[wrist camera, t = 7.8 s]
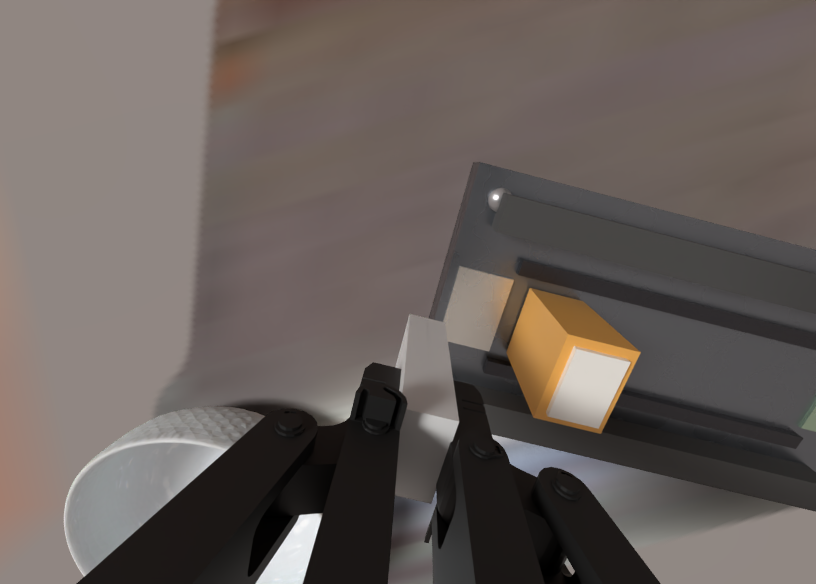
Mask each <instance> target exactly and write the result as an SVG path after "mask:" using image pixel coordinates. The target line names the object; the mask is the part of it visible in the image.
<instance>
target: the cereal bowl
mask: <svg viewBox="0 0 816 584" xmlns="http://www.w3.org/2000/svg"><path fill="white" fill-rule="evenodd" d="M264 417H265V416H264V415H261V414H259V413H257V412H253V411H247V410H245V409H240V408H234V407H221V406H215V407H209V406H206V407H196V408H191V409H183V410H179V411H175V412H170V413H168V414H164V415H161V416H159V417H157V418H154V419H151V420H150V421H148V422H146V423H145V424H142V425H140V426H138V427H137V428H135V429H134V430H132V431H130V432H128V433H126V434H125V435H124V436H123V437H121V438H120V439H118V440H116V441H115V442H113V443H112V444H111V445H110V446H109V447H107V448H106V449H104V450H103V451H102V452H101V453H100V454H98V455H97V456H96V457H94V458H93V459H92V460H91V461H90V462H89V463H88V464H87V465H86V466H85V467H84V468H83V469H82V471H81V472H80V473H79V474H78V476H77V477H76V479H75V480H74V482H73V484H72V486H71V488H70V490H69V493H68V496H67V499H66V504H65V510H64V528H65V535H66V540H67V544H68V547H69V550H70V552H71V555H72V557H73V559H74V561H75V563H76V564H77V567H78V568H79V569H80V571H81V573H82V574H83V576H84V577H85V576H86V575H87V574H88V573H89V572H90V571H91V570H92V569H94V568H95V567H96V566H97V565H98V564H99V563H100V562H101V561H103V560H104V559H105V558H106V557H107V556H108V555H109V554H110V553H112V552H113V551H114V550H115V549H116V548H117V547H118V546H119V545H121V544H122V543H123V542H124V541H125V540H126V539H127V538H128V537H130V536H131V535H132V534H133V533H134V532H135V531H136V530H137V529H139V528H140V527H141V526H142V525H143V524H144V523H145V522H146V521H148V520H149V519H150V518H151V517H152V516H153V515H154V514H156V513H157V512H158V511H159V510H160V509H161V508H162V507H163V506H165V505H166V504H167V503H168V502H169V501H170V500H171V499H172V498H174V497H175V496H176V495H177V494H178V493H179V492H180V491H181V490H183V489H184V488H185V487H186V486H187V485H188V484H189V483H190V482H192V481H193V480H194V479H195V478H196V477H197V476H198V475H199V474H201V473H202V472H203V471H204V470H205V469H206V468H207V467H208V466H210V465H211V464H212V463H213V462H214V461H215V460H216V459H217V458H219V457H220V456H221V455H222V454H223V453H224V452H225V451H226V450H228V449H229V448H230V447H231V446H232V445H233V444H234V443H235V442H237V441H238V440H239V439H240V438H241V437H242V436H243V435H244V434H246V433H247V432H248V431H249V430H250V429H251V428H252V427H253V426H255V425H256V424H257V423H258V422H259V421H260V420H261V419H262V418H264ZM322 514H323V513H319V514H307V515H300V516H299V518H298V520H297V522H296V524H295V525H294V527H293V528H292V530H291V531H290V533H289V534H288V536H287V537H286V539H285V540H284V542H283V543H282V545H281V546H280V548H279V549H278V551H277V552H276V554H275V555H274V557H273V558H272V560H271V561H270V563H269V564H268V566H267V567H266V569H265V570H264V572H263V573H262V574H261V576H260V577H259V579H258V580H257V582H256V583H255V584H303V581H304V577H305V574H306V570H307V567H308V563H309V560H310V556H311V553H312V549H313V546H314V542H315V539H316V535H317V532H318V528H319V525H320V521H321V518H322Z"/></svg>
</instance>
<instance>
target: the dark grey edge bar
mask: <svg viewBox="0 0 816 584" xmlns="http://www.w3.org/2000/svg"><path fill="white" fill-rule="evenodd" d="M454 381H457V380H454ZM458 382H461V381H458ZM463 383H465V382H463ZM467 384H469V383H467ZM471 385H474V384H471ZM474 386H475V388H476V389H477V390H478V391H479V393H480V394H481V395H482V399H483V403H484V407H485V411H486V415H487V419H488V423H489V426H490V430H491V434H493V435H497V436H502V437H506V438H510V439H514V440H518V441H522V442H527V443H531V444H535V445H539V446H543V447H548V448H552V449H556V450H560V451H564V452H569V453H573V454H577V455H581V456H585V457H590V458H594V459H598V460H602V461H606V462H611V463H615V464H619V465H623V466H627V467H632V468H636V469H640V470H644V471H648V472H653V473H657V474H661V475H665V476H669V477H673V478H678V479H682V480H686V481H690V482H694V483H699V484H703V485H707V486H711V487H715V488H720V489H724V490H728V491H732V492H736V493H741V494H745V495H749V496H753V497H757V498H762V499H766V500H770V501H774V502H778V503H783V504H787V505H791V506H795V507H799V508H803V509H808V510H812V511H816V472H815V471H813V470H812V469H811V468H810V467H808V466H807V465H804V464H800V463H795V462H791V461H787V460H783V459H779V458H775V457H771V456H767V455H762V454H758V453H754V452H750V451H746V450H742V449H738V448H734V447H729V446H725V445H721V444H717V443H713V442H709V441H705V440H701V439H696V438H692V437H688V436H684V435H680V434H676V433H672V432H668V431H663V430H659V429H655V428H651V427H647V426H643V425H639V424H635V423H630V422H626V421H622V420H618V419H614V418H610V417H609V418H608V420H607V422H606V424H605V426H604V428H603V430H602V433H601V434H599V433H595V432H591V431H587V430H582V429H578V428H574V427H570V426H566V425H562V424H558V423H553V422H549V421H545V420H541V419H537V418H533V416H532V413H531V411H530V408H529V406H528V404H527V401H526V399H525V397H523V396H519V395H515V394H511V393H507V392H502V391H498V390H494V389H490V388H486V387H482V386H478V385H474Z"/></svg>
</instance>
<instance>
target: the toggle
mask: <svg viewBox="0 0 816 584" xmlns="http://www.w3.org/2000/svg"><path fill="white" fill-rule="evenodd" d="M506 353H507V356H508V358H509V360H510V363H511V365H512V368H513V370H514V372H515V375H516V377H517V380H518V382H519V384H520V387H521V389H522V392H523V394H524V396H525V399H526V401H527V404H528V406H529V408H530V411H531V413H532V416H533V418H537V419H541V420H545V421H549V422H553V423H558V424H562V425H566V426H570V427H574V428H578V429H582V430H587V431H591V432H595V433H599V434H601V433H602V430H603V428H604V426H605V424H606V422H607V420H608V418H609V416H610V414H611V412H612V410H613V408H614V406H615V404H616V402H617V400H618V398H619V396H620V394H621V392H622V390H623V388H624V386H625V384H626V382H627V380H628V378H629V376H630V373H631V371H632V369H633V367H634V365H635V363H636V361H637V359H638V357H639V355H640V353H641V352H640V351H639V350H638V349H636V348H635V347H634V346H633V345H632V344H631V343H630V342H629V341H627V340H626V339H625V338H624V337H623V336H622V335H621V334H620V333H618V332H617V331H616V330H615V329H614V328H613V327H612V326H611V325H609V324H608V323H607V322H606V321H605V320H604V319H603V318H602V317H600V316H599V315H598V314H597V313H596V312H595V311H594V310H593V309H591V308H590V307H589V306H588V305H587V304H586V303H585V302H583V301H580V300H576V299H572V298H568V297H564V296H560V295H556V294H552V293H549V292H545V291H541V290H537V289H533V288H530V289H529V292H528V294H527V297H526V300H525V302H524V305H523V308H522V311H521V313H520V316H519V319H518V322H517V324H516V327H515V330H514V333H513V335H512V338H511V341H510V343H509V346H508V349H507V352H506Z"/></svg>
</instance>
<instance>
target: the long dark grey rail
mask: <svg viewBox="0 0 816 584" xmlns="http://www.w3.org/2000/svg"><path fill="white" fill-rule="evenodd" d="M491 227H492V228H493V229H494V230H495V231H496V232H497V233H501V234H505V235H508V236H512V237H516V238H520V239H524V240H528V241H532V242H536V243H540V244H544V245H548V246H551V247H555V248H559V249H563V250H567V251H571V252H575V253H579V254H583V255H587V256H591V257H594V258H598V259H602V260H606V261H610V262H614V263H618V264H622V265H626V266H630V267H634V268H637V269H641V270H645V271H649V272H653V273H657V274H661V275H665V276H669V277H673V278H677V279H680V280H684V281H688V282H692V283H696V284H700V285H704V286H708V287H712V288H716V289H720V290H723V291H727V292H731V293H735V294H739V295H743V296H747V297H751V298H755V299H759V300H763V301H766V302H770V303H774V304H778V305H782V306H786V307H790V308H794V309H798V310H802V311H806V312H809V313H813V314H816V273H812V272H808V271H804V270H801V269H797V268H793V267H789V266H785V265H781V264H777V263H774V262H770V261H766V260H762V259H758V258H754V257H751V256H747V255H743V254H739V253H735V252H731V251H727V250H724V249H720V248H716V247H712V246H708V245H704V244H700V243H697V242H693V241H689V240H685V239H681V238H677V237H673V236H670V235H666V234H662V233H658V232H654V231H650V230H646V229H643V228H639V227H635V226H631V225H627V224H623V223H619V222H616V221H612V220H608V219H604V218H600V217H596V216H592V215H589V214H585V213H581V212H577V211H573V210H569V209H565V208H562V207H558V206H554V205H550V204H546V203H542V202H539V201H535V200H531V199H527V198H523V197H519V196H515V195H511V194H507V193H503V195H502V198H501V201H500V205H499V208H498V211H497V212H496V213H495V216H494V220H493V223H492V226H491Z"/></svg>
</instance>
